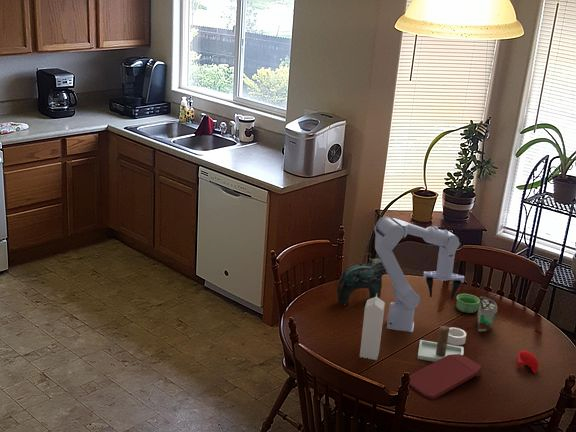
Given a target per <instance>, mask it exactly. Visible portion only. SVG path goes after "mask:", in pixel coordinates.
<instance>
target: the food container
mask: <svg viewBox="0 0 576 432" xmlns="http://www.w3.org/2000/svg"><path fill="white" fill-rule="evenodd" d="M479 299H480V300H479V305H478V309H477V314H476V323H477V332H481V333H482V332H484V333H485V332H489V331H490V330H492V326H493V322H494V319H495V314H497V312H498V305H497V303H496V301H495V300H493V299H491V298H488V297H486V296H483V295H482V296H479Z"/></svg>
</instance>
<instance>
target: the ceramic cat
mask: <svg viewBox="0 0 576 432" xmlns="http://www.w3.org/2000/svg"><path fill="white" fill-rule="evenodd" d="M367 256H371V258H370V257H368V260H369V261H368V263H367V264H365V263H359V262H355V263H351V264H348V265H347V266H346V267H345V268H344V270H343V272H342V273H341V275H340V278H339V279H338V282H337V288H336V289H337V303H338V304H339V305H340V306H341V305H344V304H348V305H349V299H350V296H351V294H352V293H353V292H354V291H356V290H359V289H368V293H369V299H371V298H374V297H376V294H377V297H378V298H379V299H381V292H382V284H383V283H382V281H383V280H382V277H383V276H384V274H385V273H387V272H386V270H385V268H384V266H383V264H382V262H381V260H380V258H379V257H377V258H374V257H373V255H372V253H366V254H364V256H363V258H366V257H367ZM344 306H345V305H344Z"/></svg>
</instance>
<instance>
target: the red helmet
mask: <svg viewBox="0 0 576 432" xmlns="http://www.w3.org/2000/svg"><path fill="white" fill-rule="evenodd" d="M515 360H516V365H517V368H518V370H521V366H523V365H524V366H527V367H529V368H530V369H531V372H533V374H537V373H538V371H539V361H538V359H537V357H536V356H535V354H534V353H532V352H530V351H528V350H524V349H523V350H520V351H519V353H518V354H517V355H516V359H515Z"/></svg>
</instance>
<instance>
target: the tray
mask: <svg viewBox="0 0 576 432" xmlns="http://www.w3.org/2000/svg"><path fill="white" fill-rule="evenodd" d="M437 342H438V341H437ZM437 342H436V341H429V340H426V339H425V340H424V339H419V346H418V350H417V351H418V352H417V360H422V361H428V362H432V363H434V362H436V361H438V360H440V359H441V358H443V357H445V356H447V355H453V354H460V355H464V350H465V349H464V346H461V345H452V344H449V343H447V347H446V354H445V356H438V355H436V349H437Z"/></svg>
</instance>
